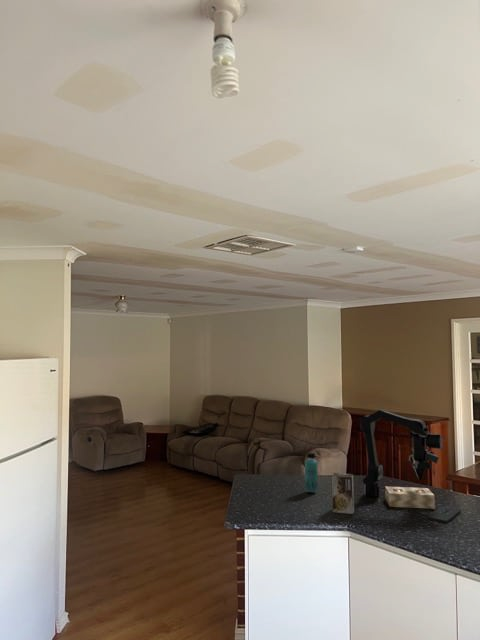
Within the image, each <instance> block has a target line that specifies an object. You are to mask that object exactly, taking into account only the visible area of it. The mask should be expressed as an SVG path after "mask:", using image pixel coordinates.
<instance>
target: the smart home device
mask: <svg viewBox="0 0 480 640" xmlns="http://www.w3.org/2000/svg"><path fill="white" fill-rule="evenodd" d="M461 512H462V511H461V509H459V508H453V507H450V506H444V505H443V506H440V507H439V508H437V509H436V510H435V511H433V512H432V513H430V514H429V515H427V519H428V521H429V520H430V521H433V522H438V523H442V524H448V523H450V522H451V521H452V520H453V519H455V518H456V517H457V516H458V515H460V514H461Z"/></svg>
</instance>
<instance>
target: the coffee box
mask: <svg viewBox="0 0 480 640" xmlns="http://www.w3.org/2000/svg"><path fill="white" fill-rule="evenodd" d="M332 473H333V474H332V476H331V483H332V485H331V486H332V490H331V491H332V513H336V514H337V513H339V514H349V515H350V514H351V515H354V512H355V499H354V497H355V495H354V492H355V491H354V487H355V486H354V474H353V473H344V472H332Z"/></svg>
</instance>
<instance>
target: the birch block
mask: <svg viewBox="0 0 480 640" xmlns="http://www.w3.org/2000/svg"><path fill="white" fill-rule="evenodd" d="M384 487H385V488H384V489H385V493H384V497H385V500H386V503H387V504H388V506H389V507H393V508H410V509H411V508H415V509H433V510H434V509H436V508H435V507H436V505H435V503H436V501H435V498H436V497H435V494H434V493H433V492H432V491H431V489H429V488H428V487H409V486H405V487H404V486H403V487H402V486H386V485H385V486H384ZM395 489H400V490H402V492H398V491H394V490H395ZM416 490H422V491H424V493H421V492H416Z"/></svg>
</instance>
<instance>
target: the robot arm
mask: <svg viewBox="0 0 480 640" xmlns="http://www.w3.org/2000/svg"><path fill="white" fill-rule="evenodd" d="M379 420H386V421H389V422H391V423H394V424H396V425H397V424H398V425H400V426H403V427H404V428H406V429H408V430H409V431H410V433H409V434H407V436H408V438H409V437H410V438H411V437H412V447H411V451H412V454H410V455H409V456H408V461H409V462H412V461H413V463H411V466H412V467H413V469H414V472H415V474H416V477H417V479H418V481H422V480H423V475H424V471H425V470H431V469H432V464H431V463H430V462H432V463H434V464H438V462H439V459H440V457H439V456H438V455H436V454H435V452H433V451H432V450H429V451H428V450H427V449H426V446H427V447H428V449H437V450H442V449H443V446H444V444H443V443H444V441H443V437H442V434H441V433H432V432H431V431H430V430H429V428H428V427H427V424H426V423H425V421H424V420H422V419H418V418H408V417H406V416H402V415H399V414H396V413H394V412H390V411H387V410H385V409H379V410H376V412H374V413H371V414H370V415H369V414H367V415H363V416H361V418H360V419H359V423H360V424H359V425H360V428H361V430H362V432H363V434H364V438H365V447H366V453H367V460H368V465H367V469H366V471H367V472H366V473H367V475H366V476H365V477H364V478H363V479H362V482H363V484H364V491H363V494H364V496H365V497H367V498H368V497H369V498H380V486H379V481H380V480H381V479H382V477H383V476H384V475H383V474H385V473H384V468H383V464H380V463H379V460H378V459H379V458H378V454H377V447H376V439H375V428H376V422H378V421H379Z"/></svg>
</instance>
